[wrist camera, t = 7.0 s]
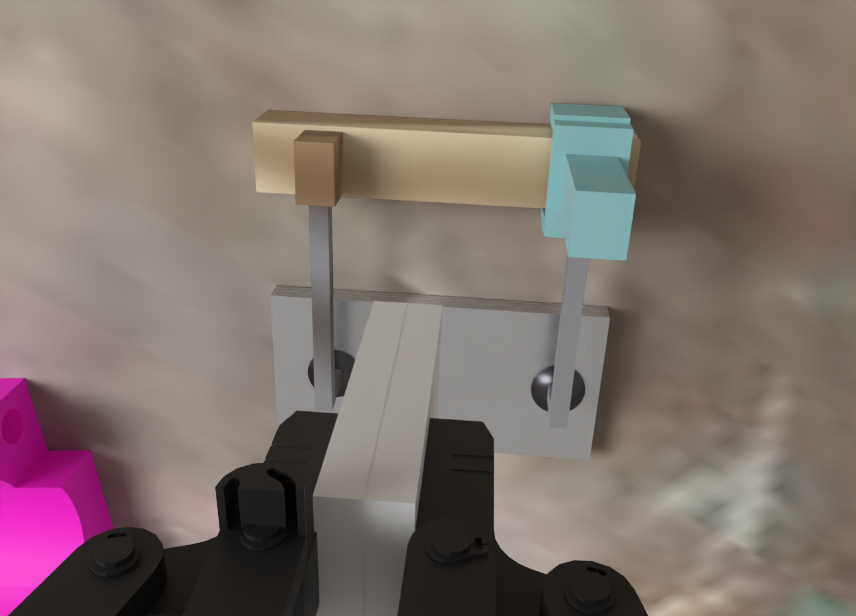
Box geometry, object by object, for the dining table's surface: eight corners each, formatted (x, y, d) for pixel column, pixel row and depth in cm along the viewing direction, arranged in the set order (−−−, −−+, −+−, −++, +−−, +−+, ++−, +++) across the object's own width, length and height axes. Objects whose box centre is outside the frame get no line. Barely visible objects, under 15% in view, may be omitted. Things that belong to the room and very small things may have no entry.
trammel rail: (267, 110, 36) (238, 133, 32) (632, 128, 35) (649, 155, 31) (281, 365, 41) (256, 413, 37) (595, 388, 40) (605, 439, 36)
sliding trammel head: (551, 103, 34) (565, 152, 27) (622, 106, 34) (657, 156, 26) (523, 386, 40) (528, 492, 33) (584, 391, 40) (603, 498, 32)
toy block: (133, 588, 49) (75, 693, 42) (37, 588, 50) (-36, 691, 43) (70, 375, 43) (-10, 458, 36) (-39, 377, 44) (-138, 459, 37)
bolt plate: (276, 285, 39) (269, 296, 38) (606, 306, 38) (610, 319, 37) (283, 423, 43) (277, 437, 42) (587, 446, 42) (589, 461, 41)
